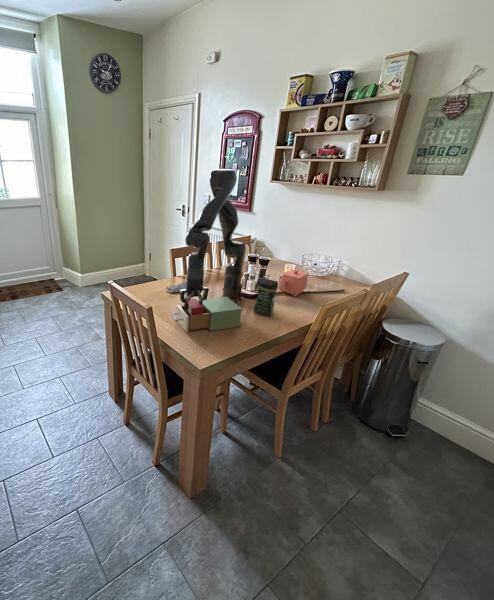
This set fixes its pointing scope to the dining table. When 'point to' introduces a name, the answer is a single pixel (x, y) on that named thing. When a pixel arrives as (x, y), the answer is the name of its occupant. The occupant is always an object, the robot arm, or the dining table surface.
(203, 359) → the dining table surface
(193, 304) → the red rectangular block
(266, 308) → the coffee jar
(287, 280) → the pink knobbed cube
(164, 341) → the dining table surface
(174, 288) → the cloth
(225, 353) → the dining table surface
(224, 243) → the robot arm
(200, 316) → the drawer
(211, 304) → the cabinet
